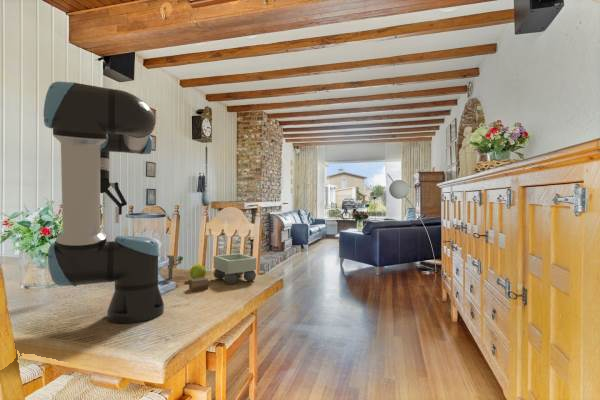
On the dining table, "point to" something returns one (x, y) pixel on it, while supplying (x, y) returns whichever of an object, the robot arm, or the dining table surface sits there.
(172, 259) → the mechanical component
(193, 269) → the tennis ball
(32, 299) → the dining table surface
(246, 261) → the trolley
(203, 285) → the chock
